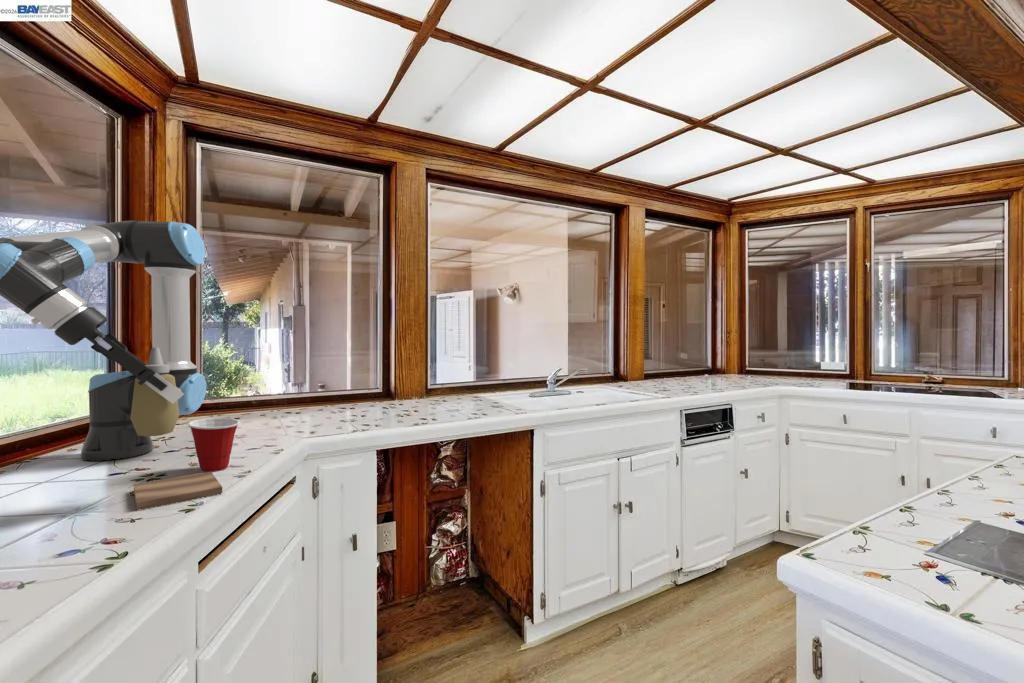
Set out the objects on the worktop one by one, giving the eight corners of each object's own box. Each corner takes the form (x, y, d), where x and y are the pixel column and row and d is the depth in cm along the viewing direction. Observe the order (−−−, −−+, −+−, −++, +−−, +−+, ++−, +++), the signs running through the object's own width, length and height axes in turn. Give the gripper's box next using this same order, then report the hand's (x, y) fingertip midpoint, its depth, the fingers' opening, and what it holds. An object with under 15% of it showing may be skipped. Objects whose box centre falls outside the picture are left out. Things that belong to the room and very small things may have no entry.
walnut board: (133, 491, 98) (133, 484, 98) (211, 477, 108) (211, 471, 107) (136, 510, 88) (136, 502, 88) (222, 493, 97) (222, 486, 97)
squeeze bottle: (138, 440, 90) (138, 348, 90) (124, 434, 94) (123, 347, 94) (186, 433, 97) (186, 347, 96) (170, 428, 101) (170, 346, 101)
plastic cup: (215, 476, 108) (215, 426, 108) (177, 473, 111) (176, 424, 110) (250, 463, 119) (250, 417, 119) (214, 461, 121) (214, 416, 121)
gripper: (58, 331, 93) (159, 404, 104) (43, 331, 78) (164, 417, 89) (93, 306, 96) (188, 380, 107) (86, 302, 81) (197, 388, 92)
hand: (177, 396), depth 98 cm, fingers closed on squeeze bottle, 6 cm apart
